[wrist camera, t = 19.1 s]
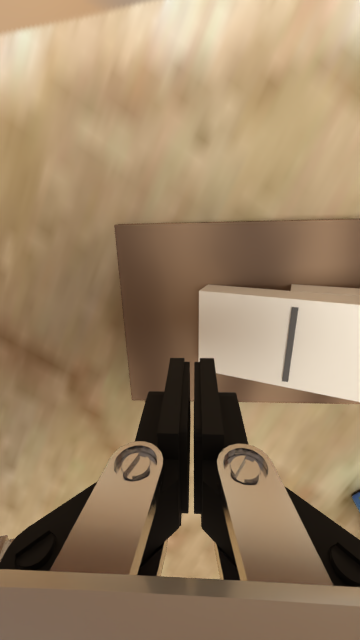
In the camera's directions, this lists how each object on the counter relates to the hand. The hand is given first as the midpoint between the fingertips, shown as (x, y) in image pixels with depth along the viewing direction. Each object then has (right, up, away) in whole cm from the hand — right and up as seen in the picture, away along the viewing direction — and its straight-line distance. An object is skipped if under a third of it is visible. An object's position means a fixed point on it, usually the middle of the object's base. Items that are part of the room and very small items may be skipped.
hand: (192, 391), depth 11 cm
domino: (+1, +2, +6) cm, 7 cm away
